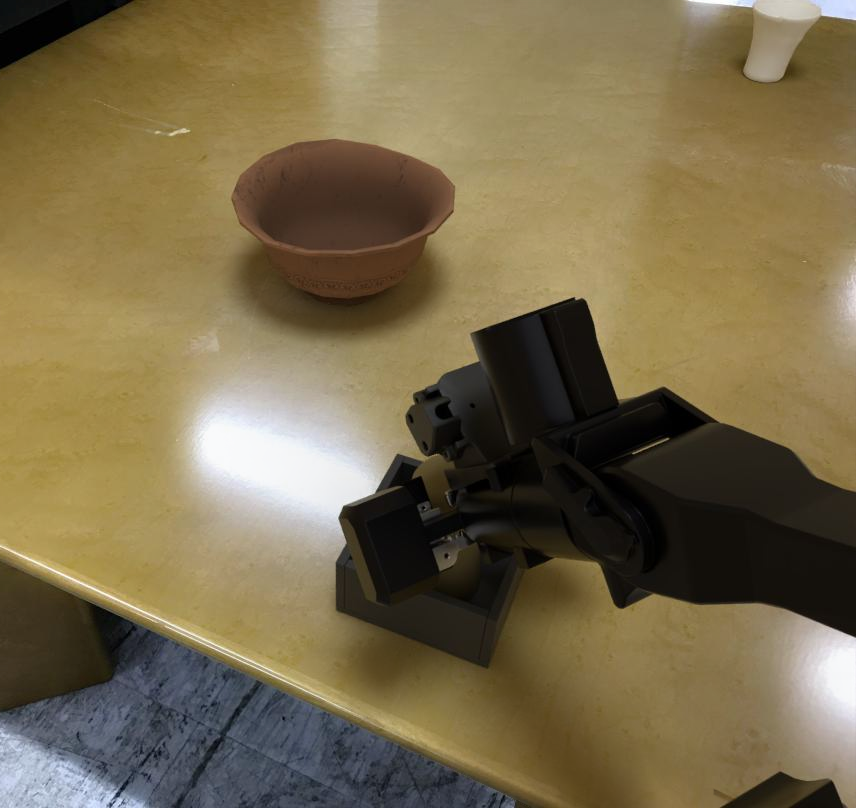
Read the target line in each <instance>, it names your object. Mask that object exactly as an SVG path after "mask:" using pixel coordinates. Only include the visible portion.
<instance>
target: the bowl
mask: <svg viewBox="0 0 856 808" xmlns="http://www.w3.org/2000/svg"><path fill="white" fill-rule="evenodd" d="M230 198H231V203H232V205H233V209H234V211H235V214H236V217H237V221H238V223H239V225H240V226H241V227H243V228H244V229H245V230H246V231H247V232H248V233H250V234H251V235H252V236H253V237H254V238H256V239H257V240H258V241H259V242H260V243H262V245H263V248H264V250H265V254H266V256H267V258H268V260H269V263H270V265H271V267H272V269H273V270H274V271H275V272H276V273H277V275H279V276H280V277H282V278H283V280H285V281H287V282H288V283H289V284H290V285H292V286H293V287H295V288H296V289H298V290H301V291H304V292H305V293H306V294H308V295H309V296H310V297H311V298H313V300H316V301H318V302H321V303H324V304H327V305H329V306H330V305H331V306H343V307H348V306H355V305H360V304H364V303H366V302H368V301H370V300H373V299H375V298H377V297H378V296H379V295H380V293H381V292H383V291H384V290H387V289H389V288H391V287H394V286H395V285H397V284H398V283H400V282H402V280H403V279H404V278H405V277H406V276H408V274H409V273H410V272H411V270H412V269H413V268H414V267H415V266H416V265H417V263H418V262H419V261H420V259H421V257H422V255H423V252H424V250H425V246H426V243H427V240H428V237H429V236H432V235H434V234H435V233H436V232H437V231H438V230H439V229H440V228H441V227H442V226H443V225H444V223H446V222H447V220H448V219H449V218H450V217H452V215H453V214H454V211H455V199H456V186H455V184H454V183H453V182H452V181H451V180H450V179H449V178H448V177H447V175H446V174H445V172H443V171H442V169H440V168H438V167H436V166H434V165H431V164H429V163H427V162H426V161H423V160H421V159H418V158H417V157H414V156H413V155H412V156H411V155H409V154H405V153H402V152H399V151H397V150H393V149H391V148H387V147H385V146H384V147H383V146H381V145H378V144H372V143H366V142H360V141H353V140H348V139H347V140H346V139H339V138H329V139H319V140H308V141H299V142H294V143H292V144H289V145H287V146H285V147H281V148H280V149H277V150H275V151H271V152H270V153H267V154H264V155H262V156H261V157H260V158H259V159H257V160H256V161H255V162H254V163H252V164H251V166H249V167H248V168H247V169H245V170H244V171H243V172H242V173H241V174H239V176H238V179H237V182H236V184H235V187H234V188H233V191H232V194H231V196H230Z"/></svg>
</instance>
